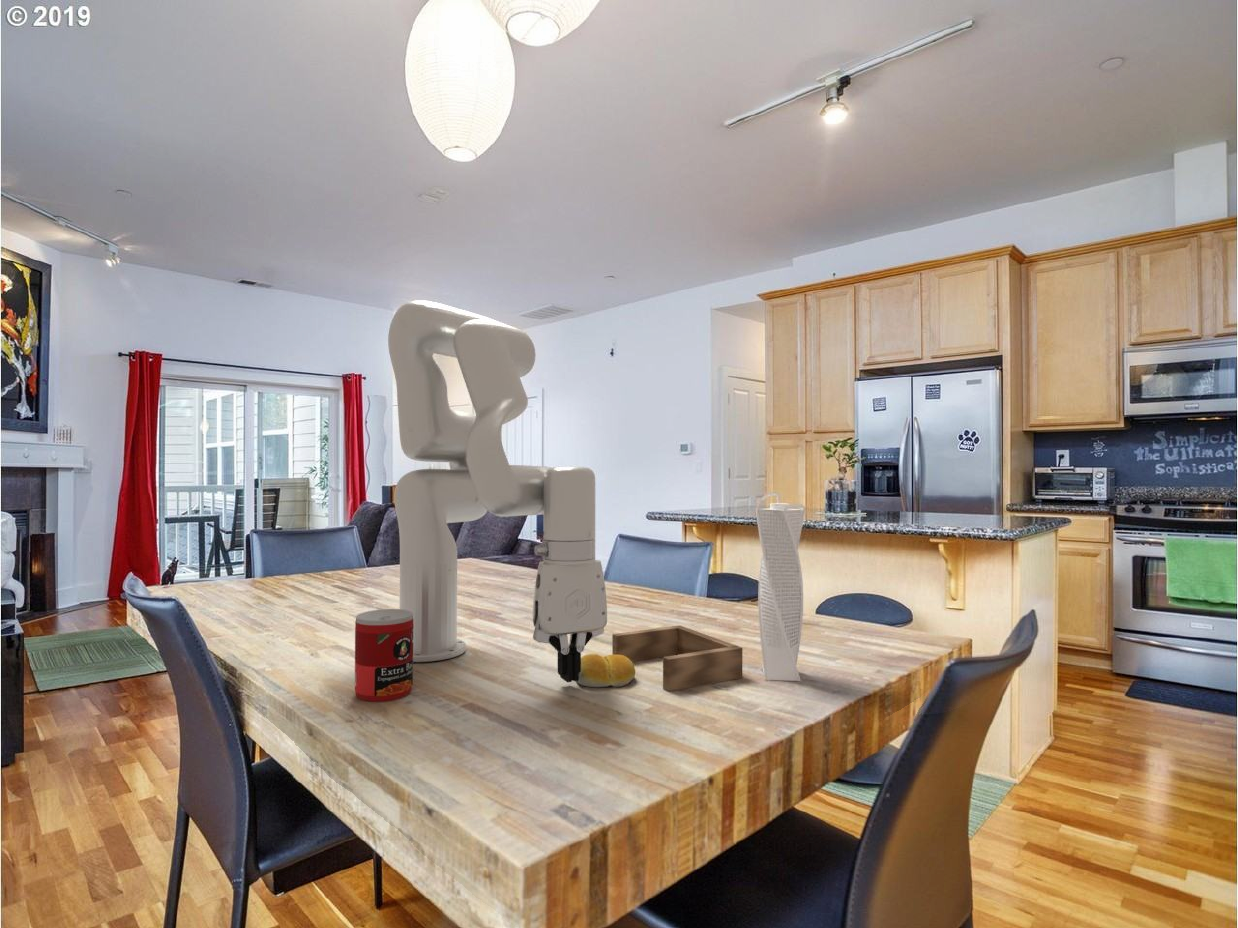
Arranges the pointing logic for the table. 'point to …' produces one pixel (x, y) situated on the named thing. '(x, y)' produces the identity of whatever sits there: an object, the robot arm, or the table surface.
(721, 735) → the table surface
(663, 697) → the table surface
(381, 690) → the canned food
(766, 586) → the skyscraper
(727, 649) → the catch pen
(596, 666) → the bread roll
